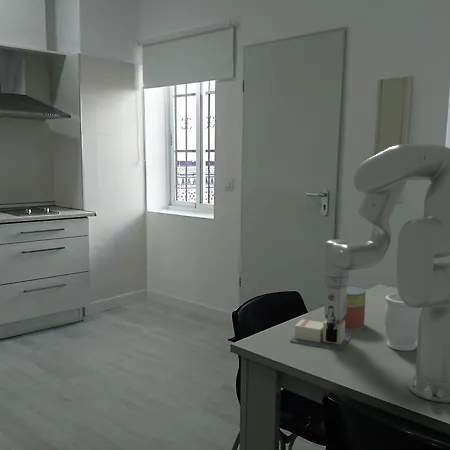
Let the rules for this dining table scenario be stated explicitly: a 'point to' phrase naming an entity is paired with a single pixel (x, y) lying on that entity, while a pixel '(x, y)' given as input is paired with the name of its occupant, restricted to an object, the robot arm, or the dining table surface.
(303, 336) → the cream striped box
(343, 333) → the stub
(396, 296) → the jar
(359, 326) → the canned food
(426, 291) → the robot arm
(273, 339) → the dining table surface
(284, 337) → the dining table surface
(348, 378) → the dining table surface
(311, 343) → the mat
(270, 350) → the dining table surface
